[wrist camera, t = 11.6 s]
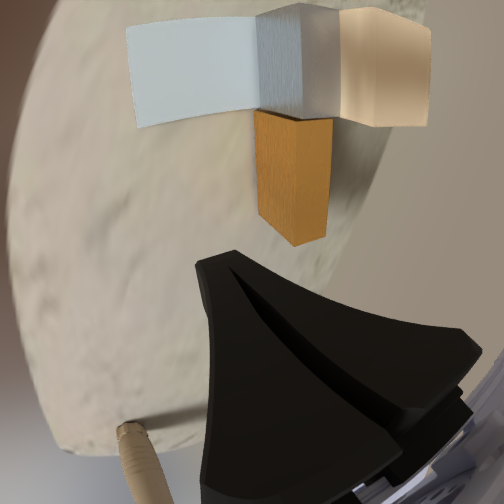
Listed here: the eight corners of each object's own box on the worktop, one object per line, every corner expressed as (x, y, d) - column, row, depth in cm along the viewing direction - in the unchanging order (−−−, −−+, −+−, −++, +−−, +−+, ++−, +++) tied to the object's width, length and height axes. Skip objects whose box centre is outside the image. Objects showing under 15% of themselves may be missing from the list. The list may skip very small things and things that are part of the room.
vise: (359, 101, 17) (416, 116, 13) (137, 126, 12) (148, 144, 9) (359, 32, 14) (419, 34, 11) (125, 30, 10) (132, 4, 6)
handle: (155, 412, 25) (213, 547, 14) (148, 437, 27) (196, 551, 16) (108, 413, 22) (157, 559, 11) (108, 440, 25) (149, 560, 14)
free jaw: (286, 206, 19) (331, 241, 15) (258, 214, 18) (299, 252, 15) (282, 20, 12) (339, 9, 9) (248, 18, 11) (298, 2, 8)
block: (345, 103, 16) (426, 126, 11) (290, 105, 14) (373, 127, 10) (345, 27, 13) (430, 29, 8) (287, 19, 12) (374, 6, 7)
